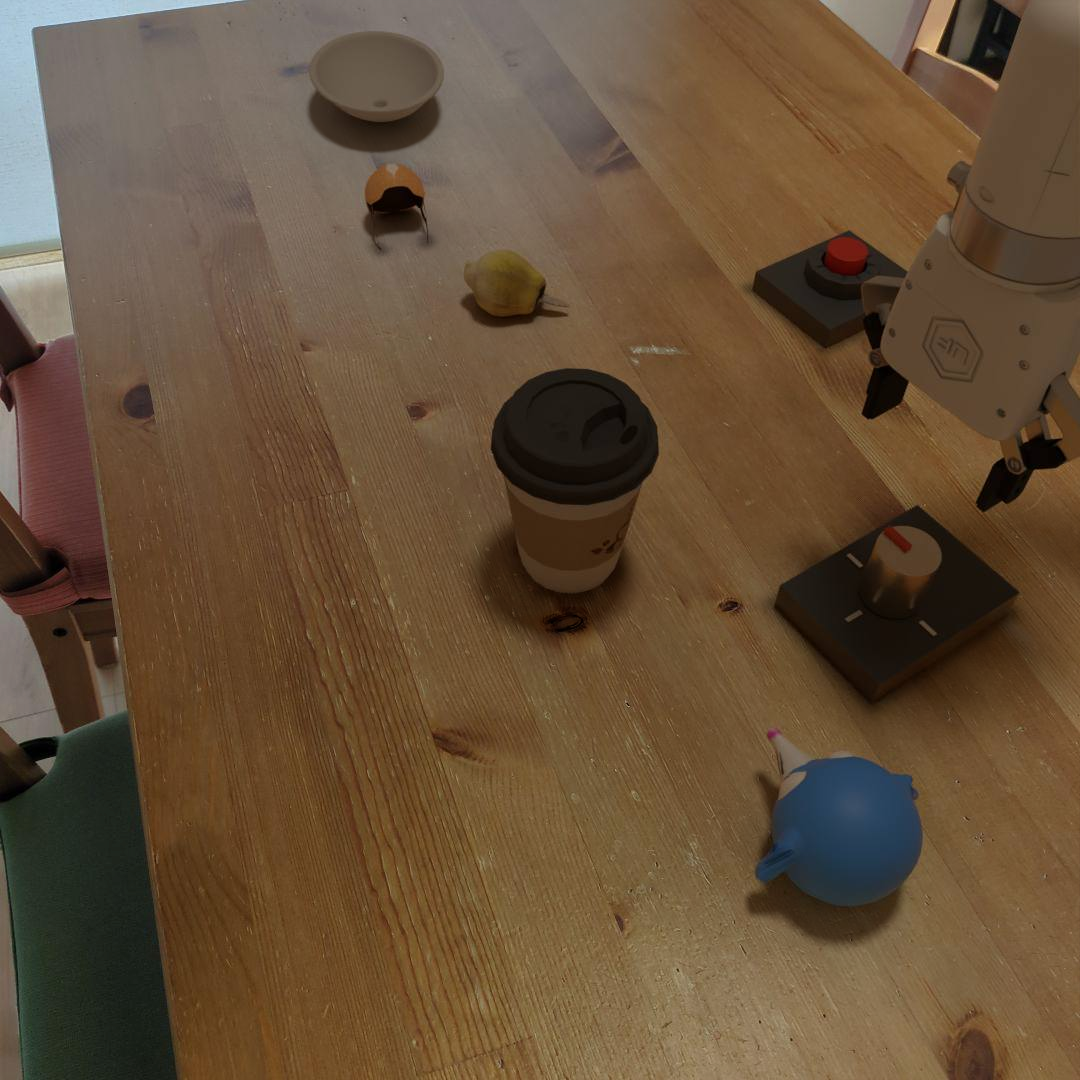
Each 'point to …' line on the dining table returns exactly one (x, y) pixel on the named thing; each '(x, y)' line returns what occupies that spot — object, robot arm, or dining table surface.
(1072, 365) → the robot arm
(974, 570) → the dial panel
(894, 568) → the dial knob
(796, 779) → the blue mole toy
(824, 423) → the dining table surface
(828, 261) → the button
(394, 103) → the dish
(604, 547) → the coffee cup
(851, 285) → the button box
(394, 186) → the helmet
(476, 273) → the fruit
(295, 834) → the dining table surface
